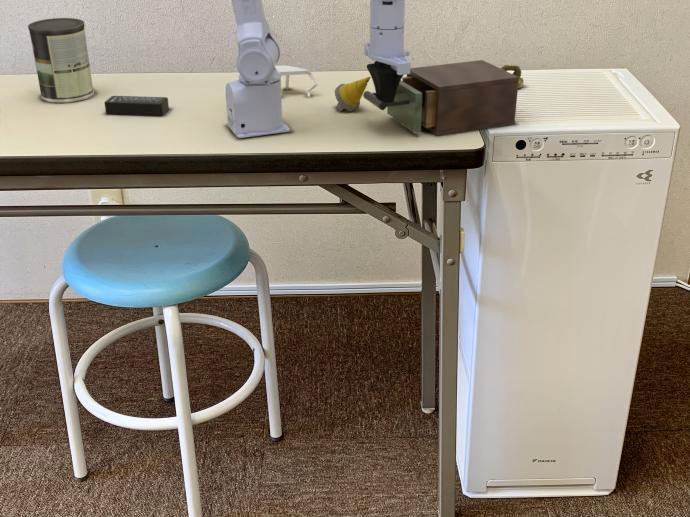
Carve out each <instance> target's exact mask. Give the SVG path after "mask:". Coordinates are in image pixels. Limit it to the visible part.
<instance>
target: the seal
mask: <svg viewBox="0 0 690 517" xmlns="http://www.w3.org/2000/svg"><path fill="white" fill-rule="evenodd" d="M500 69H502V70H505V71H507V72H508V71H513V72H512V74H513V75H515V76H517V77H519V81H518V89H520V88H523V87H524V78H523V77H522V69H521V66H519V65H510V64H504V65H503V66H501V68H500Z"/></svg>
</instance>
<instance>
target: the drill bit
mask: <svg viewBox="0 0 690 517" xmlns="http://www.w3.org/2000/svg"><path fill="white" fill-rule="evenodd" d="M371 79H372V77H371V76H367V77H365V78H361V79H359V80H356V81H352V82H350V83H349V82H348V83H341V84H339V85H338V86H337V87H336V88H335V90H334V97H335V99H336V101H337V104H336V108H337V109H338V110H339V112H343V111H344V110H346V111H350V112H353V111H355V110H357V109H358V108H359V107H360V105H361V99H362V97H363V94H364V92H365V90H366V88H367V87H368V83H369V82H370V80H371Z"/></svg>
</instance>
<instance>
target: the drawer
mask: <svg viewBox="0 0 690 517" xmlns="http://www.w3.org/2000/svg"><path fill="white" fill-rule="evenodd" d="M362 97H363V98H364V99H365V100H366V101H368V102H369V103H371V104H372V105H373V106H375V107H376V108H377V109H379V110H381V111H385V110H386V113H387V115H389V116H390V117H391V118H393V119H395V121H397V122H398V123H400V124H402V125H403V126H404V127H406V128H407V129H409V130H410V131H412V132H413V133H415V134H416V133H421V131H422V127H423V126H424V127H423V128H425V129H426V128H429V127H435V121H436V100H437V90H436V89H434V88H432V87H430V86H429V85H427V84H425V83H423V82H422V81H420V80H418V79H416V78H415V77H413V76H410V77H407V76H403V77H402V78H401V80H400V82H399V85H398V88H397V91H396V94H395V98H394V102H386V103H385V102H384V101H382V100H381V99H380V98H378V97H377V96H376V92H371V91H370V90H366V91H365V90H364V93H363V95H362Z"/></svg>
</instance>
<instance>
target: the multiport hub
mask: <svg viewBox="0 0 690 517" xmlns="http://www.w3.org/2000/svg"><path fill="white" fill-rule="evenodd" d="M104 110H105V115H112V116H113V115H115V116H141V117H142V116H145V117H164V115H165V114H167V112H168V111H170V107H169V98H168V97H164V96H139V95H138V96H135V95H112V96H110V97H109V98H108V99H106V100H105V101H104Z"/></svg>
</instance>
